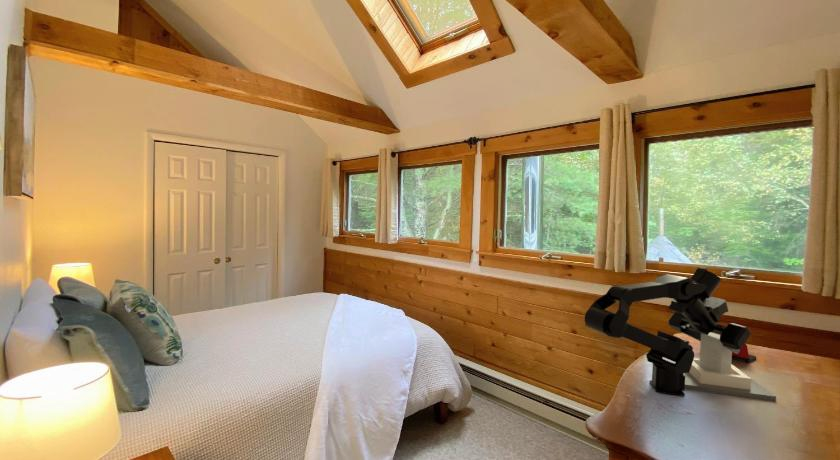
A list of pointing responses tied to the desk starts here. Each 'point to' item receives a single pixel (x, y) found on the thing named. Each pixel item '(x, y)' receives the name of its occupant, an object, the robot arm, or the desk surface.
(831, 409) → the desk surface
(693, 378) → the socket board
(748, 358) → the handheld game console
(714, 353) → the skincare box
